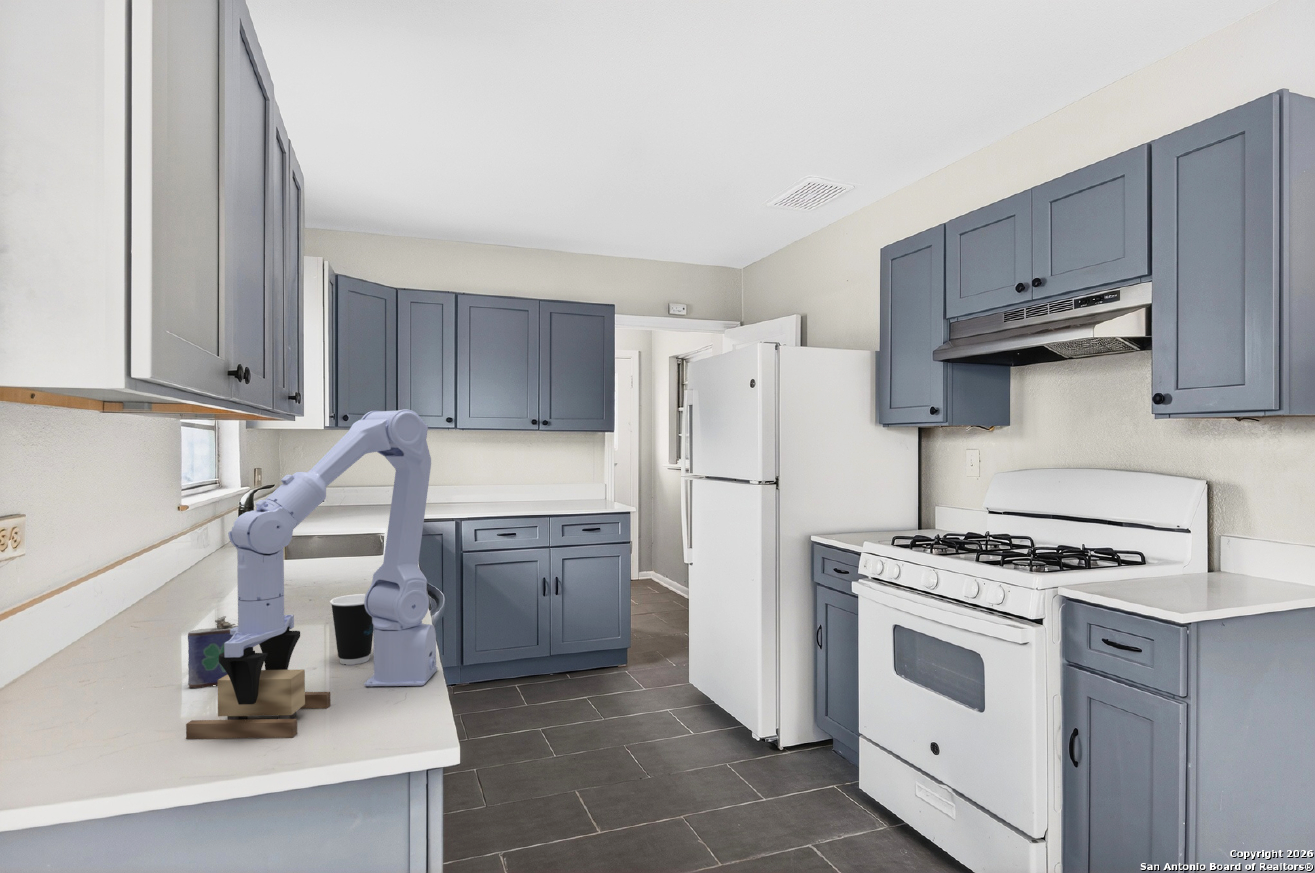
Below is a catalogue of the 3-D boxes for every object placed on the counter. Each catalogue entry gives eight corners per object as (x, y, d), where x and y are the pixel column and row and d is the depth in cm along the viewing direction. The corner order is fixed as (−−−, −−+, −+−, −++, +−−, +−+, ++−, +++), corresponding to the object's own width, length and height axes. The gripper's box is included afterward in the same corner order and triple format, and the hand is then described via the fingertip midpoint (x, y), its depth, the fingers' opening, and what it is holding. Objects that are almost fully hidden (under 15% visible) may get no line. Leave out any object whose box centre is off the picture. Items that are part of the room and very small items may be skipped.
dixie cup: (383, 662, 127) (382, 599, 127) (334, 670, 123) (334, 606, 123) (373, 651, 134) (372, 591, 134) (326, 658, 129) (326, 597, 129)
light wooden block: (304, 704, 103) (304, 669, 103) (291, 714, 99) (291, 678, 99) (234, 705, 103) (233, 670, 103) (217, 716, 99) (217, 680, 99)
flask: (186, 689, 114) (186, 621, 114) (191, 683, 117) (191, 617, 117) (252, 682, 117) (252, 616, 117) (255, 676, 120) (255, 612, 120)
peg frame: (330, 705, 107) (330, 691, 107) (292, 737, 96) (292, 722, 96) (235, 706, 107) (235, 692, 107) (186, 738, 95) (186, 723, 95)
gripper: (260, 585, 108) (261, 676, 108) (200, 609, 94) (201, 713, 94) (307, 585, 108) (308, 675, 108) (255, 608, 94) (256, 712, 94)
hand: (262, 693), depth 101 cm, fingers open, 7 cm apart
